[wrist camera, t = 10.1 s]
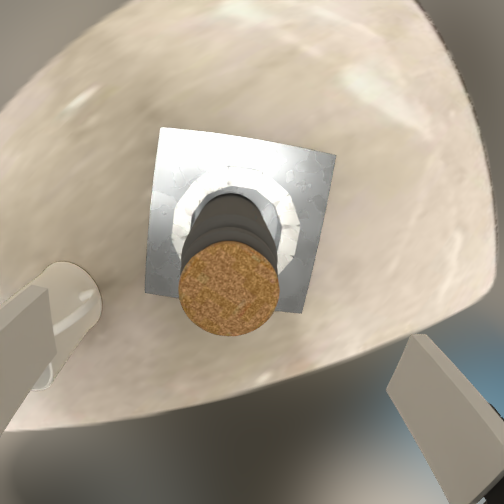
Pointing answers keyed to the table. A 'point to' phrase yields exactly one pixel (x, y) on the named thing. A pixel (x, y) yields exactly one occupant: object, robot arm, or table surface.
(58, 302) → the mug
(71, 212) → the table surface
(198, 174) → the collar plate
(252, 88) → the table surface
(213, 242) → the bottle
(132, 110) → the table surface
